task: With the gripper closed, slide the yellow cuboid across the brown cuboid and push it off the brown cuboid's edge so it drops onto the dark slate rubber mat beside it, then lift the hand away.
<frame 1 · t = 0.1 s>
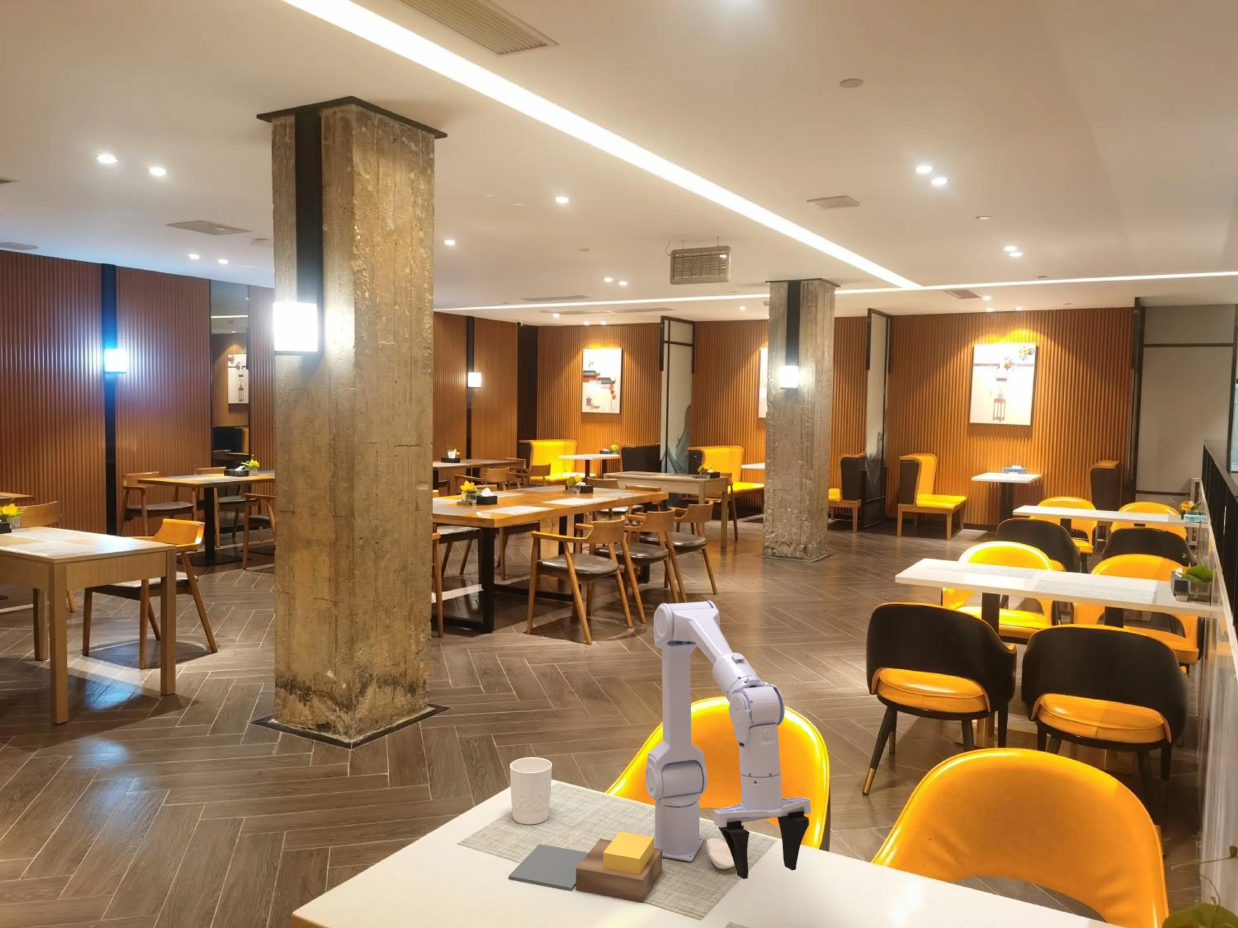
hand: (766, 872, 126), 11 cm above the table, tool pointing down, fingers open, 7 cm apart
yellow cuboid: (629, 852, 144), point 5 cm above the table, touching brown cuboid
brown cuboid: (620, 879, 145), on the table
white cup: (530, 818, 168), on the table
mat: (554, 867, 149), on the table
dumpling: (722, 867, 150), on the table
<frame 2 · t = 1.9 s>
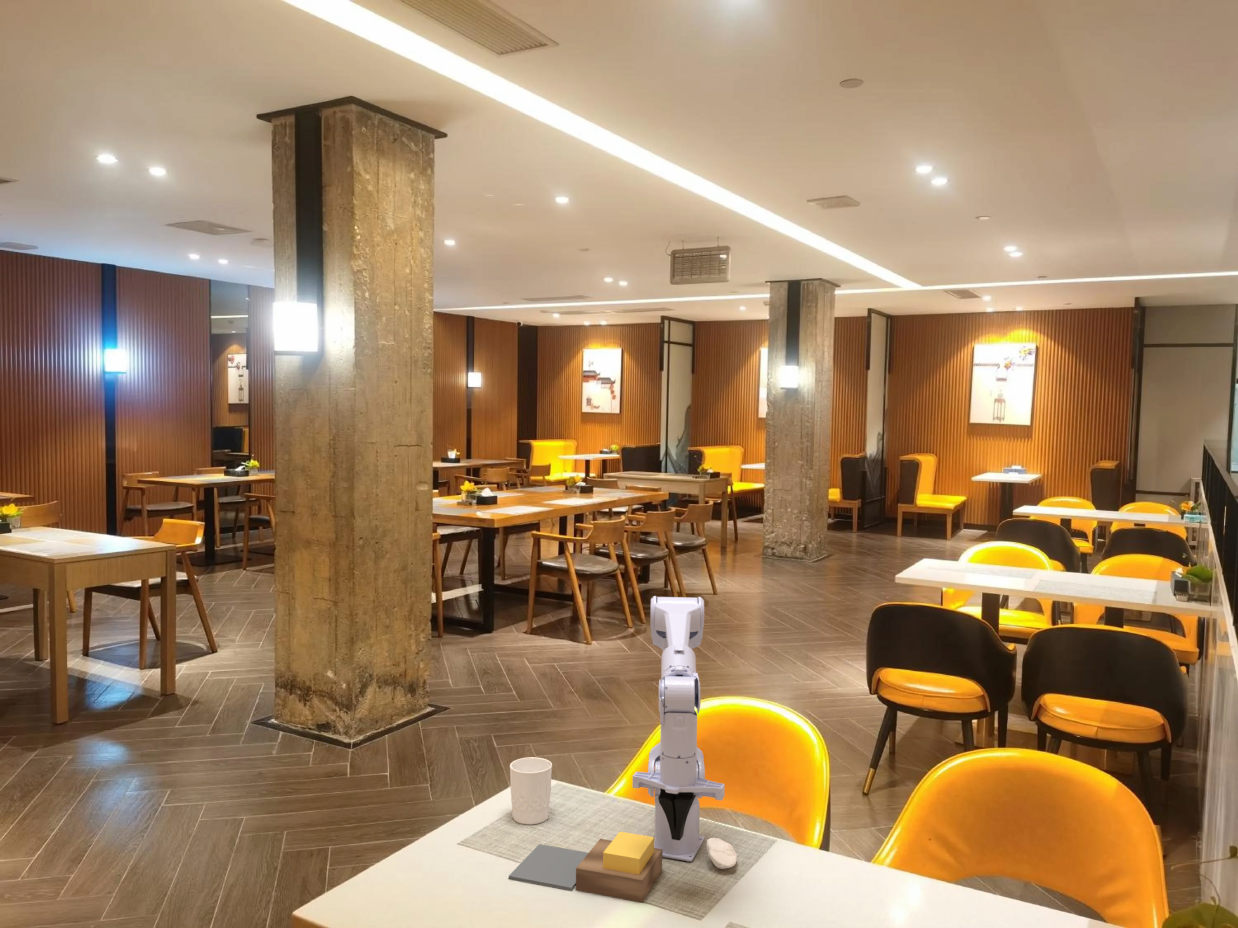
hand: (677, 837, 141), 9 cm above the table, tool pointing down, fingers closed
nothing on the table moved.
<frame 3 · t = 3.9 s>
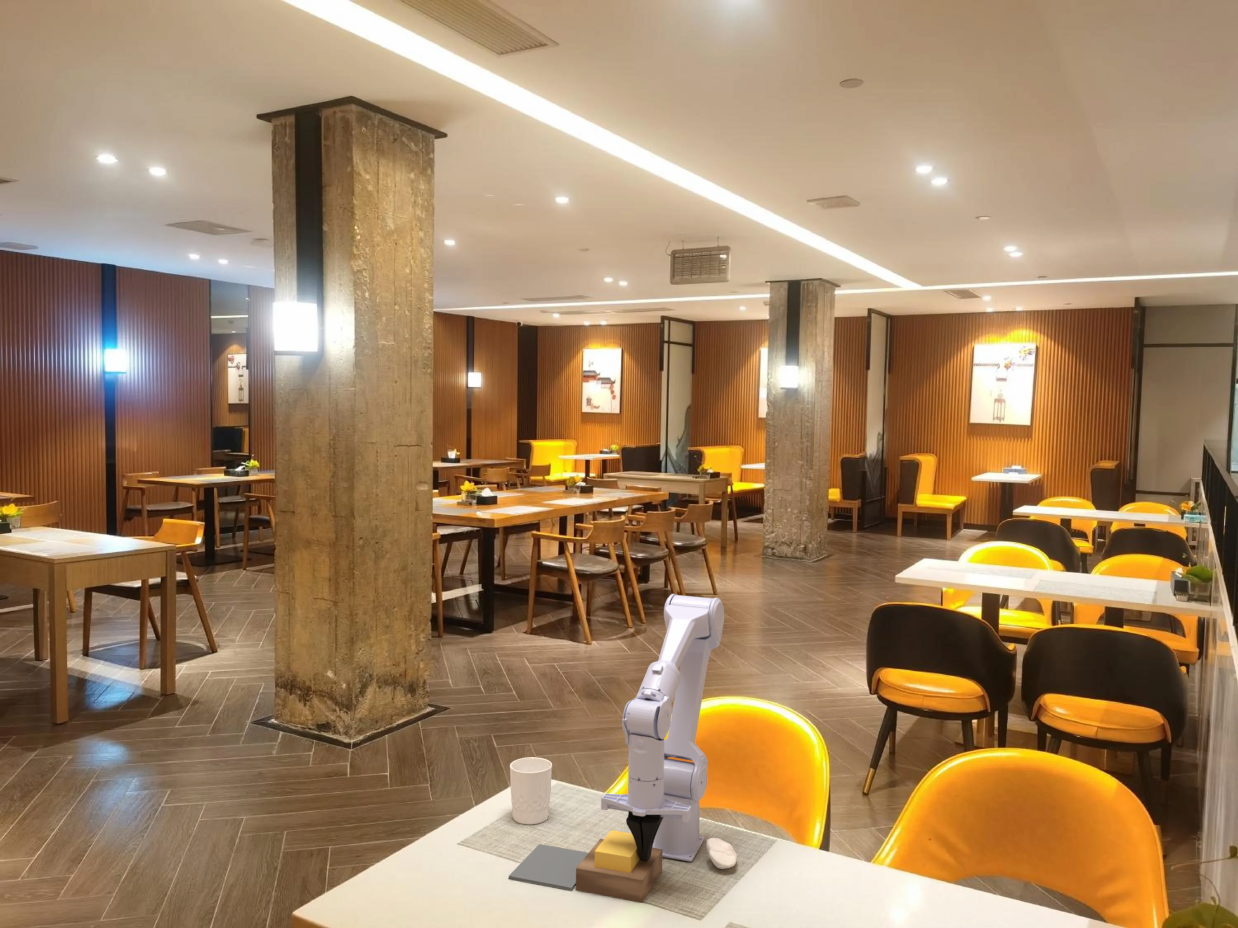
hand: (645, 858, 143), 4 cm above the table, tool pointing down, fingers closed
yellow cuboid: (620, 850, 145), point 5 cm above the table, touching gripper
everything else where it was.
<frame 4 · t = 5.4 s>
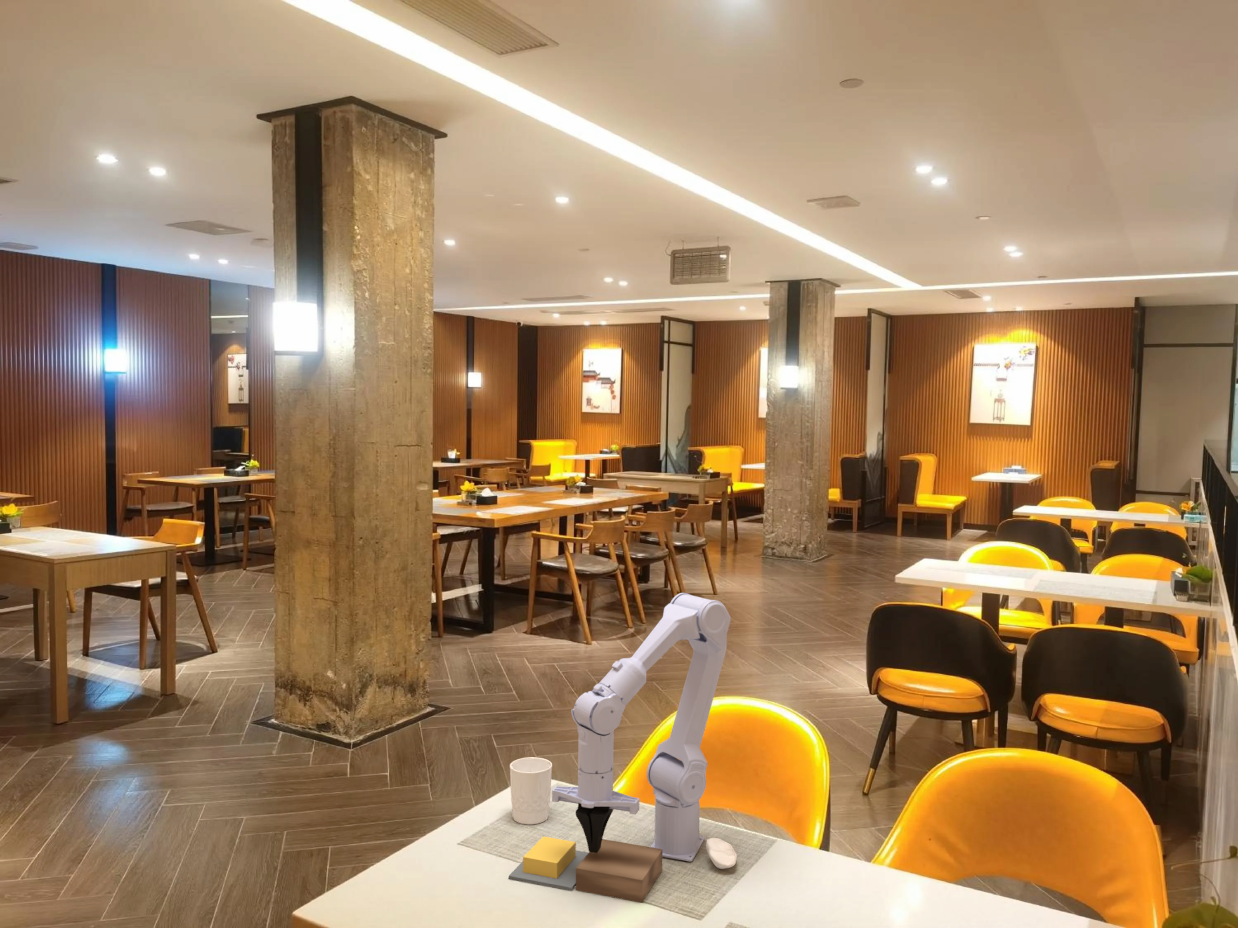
hand: (594, 849, 146), 4 cm above the table, tool pointing down, fingers closed
yellow cuboid: (549, 856, 149), point 2 cm above the table, tilted 180°, touching mat
everything else where it was.
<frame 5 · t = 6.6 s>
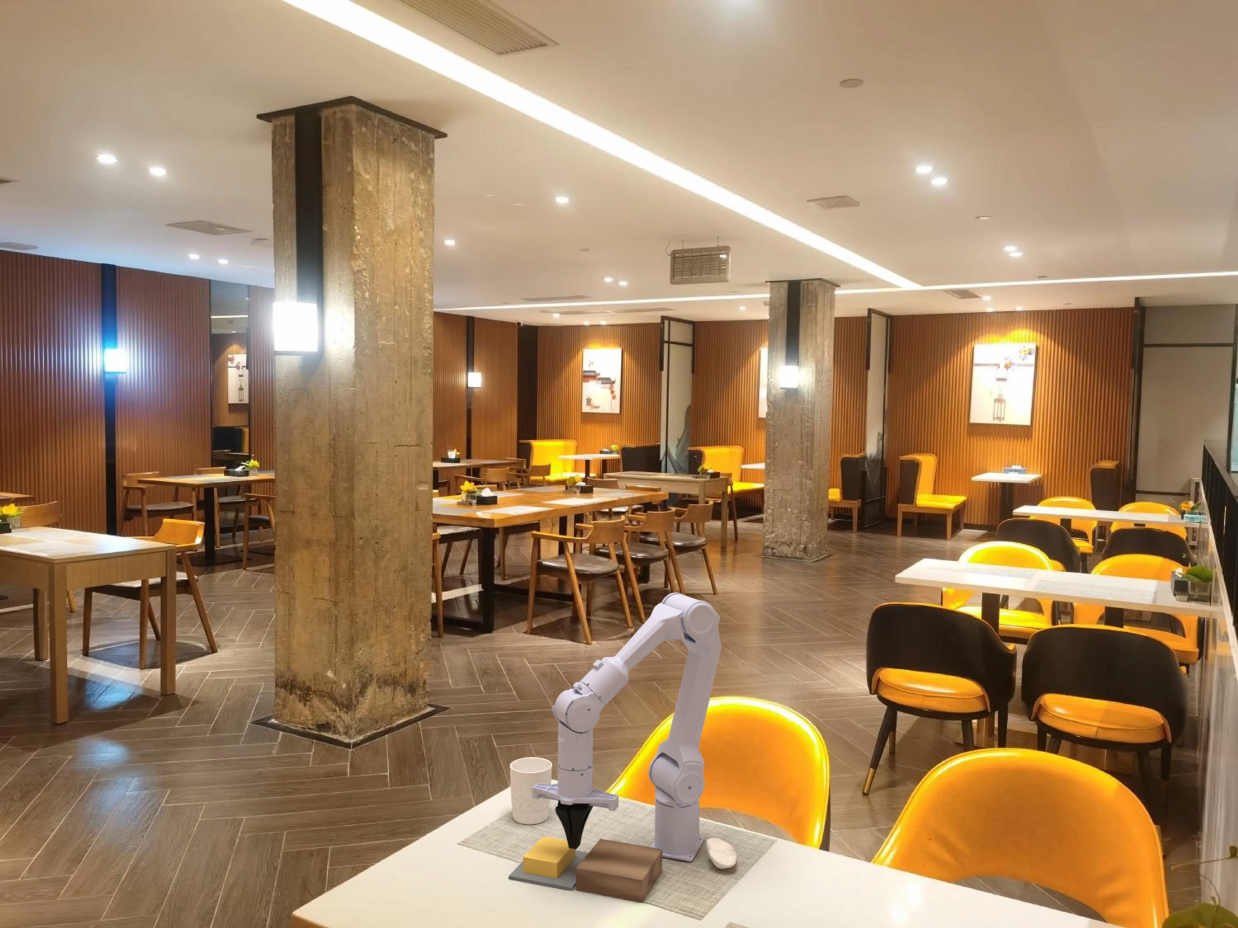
hand: (574, 845, 147), 4 cm above the table, tool pointing down, fingers closed
nothing on the table moved.
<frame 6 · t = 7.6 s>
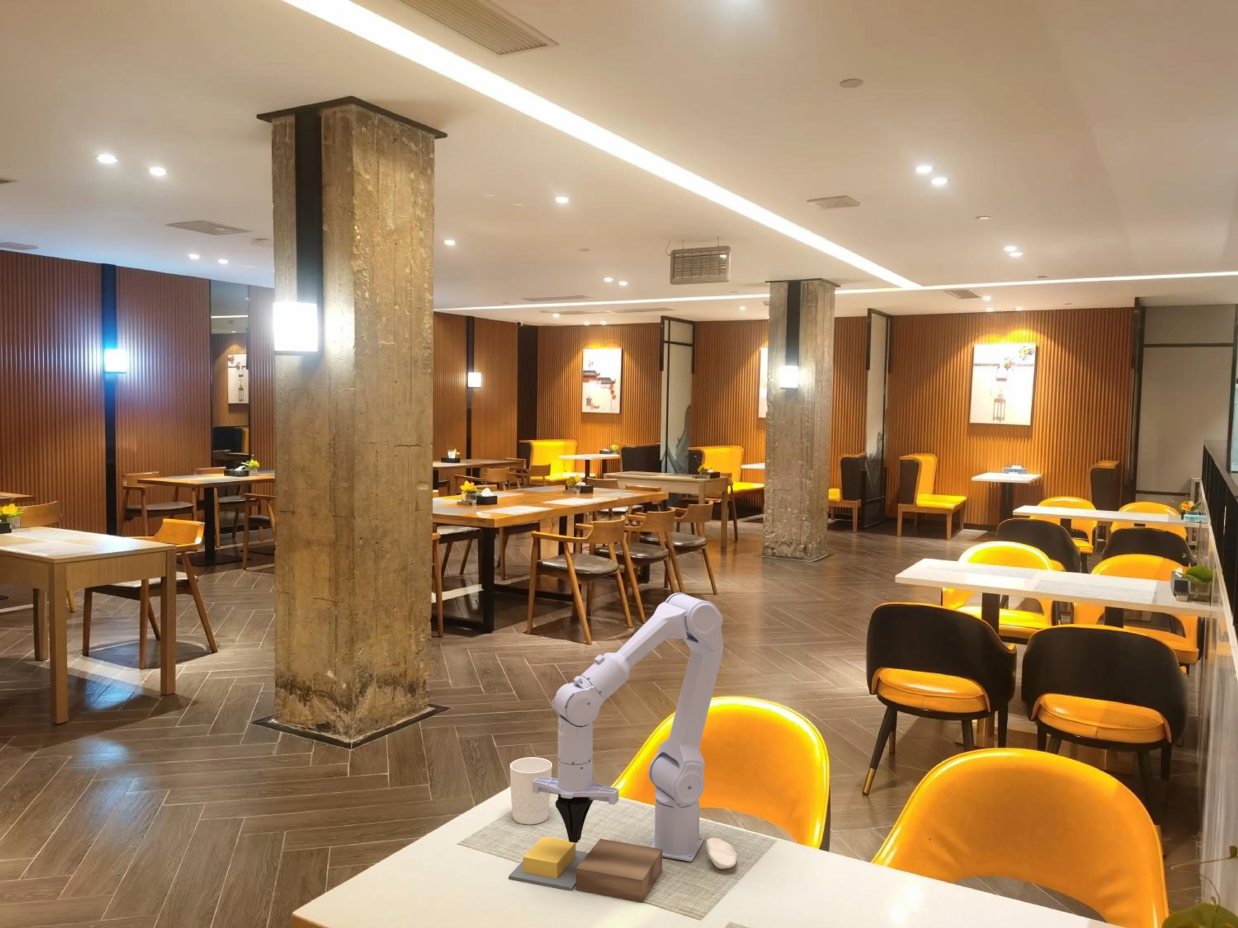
hand: (574, 839, 147), 5 cm above the table, tool pointing down, fingers closed
nothing on the table moved.
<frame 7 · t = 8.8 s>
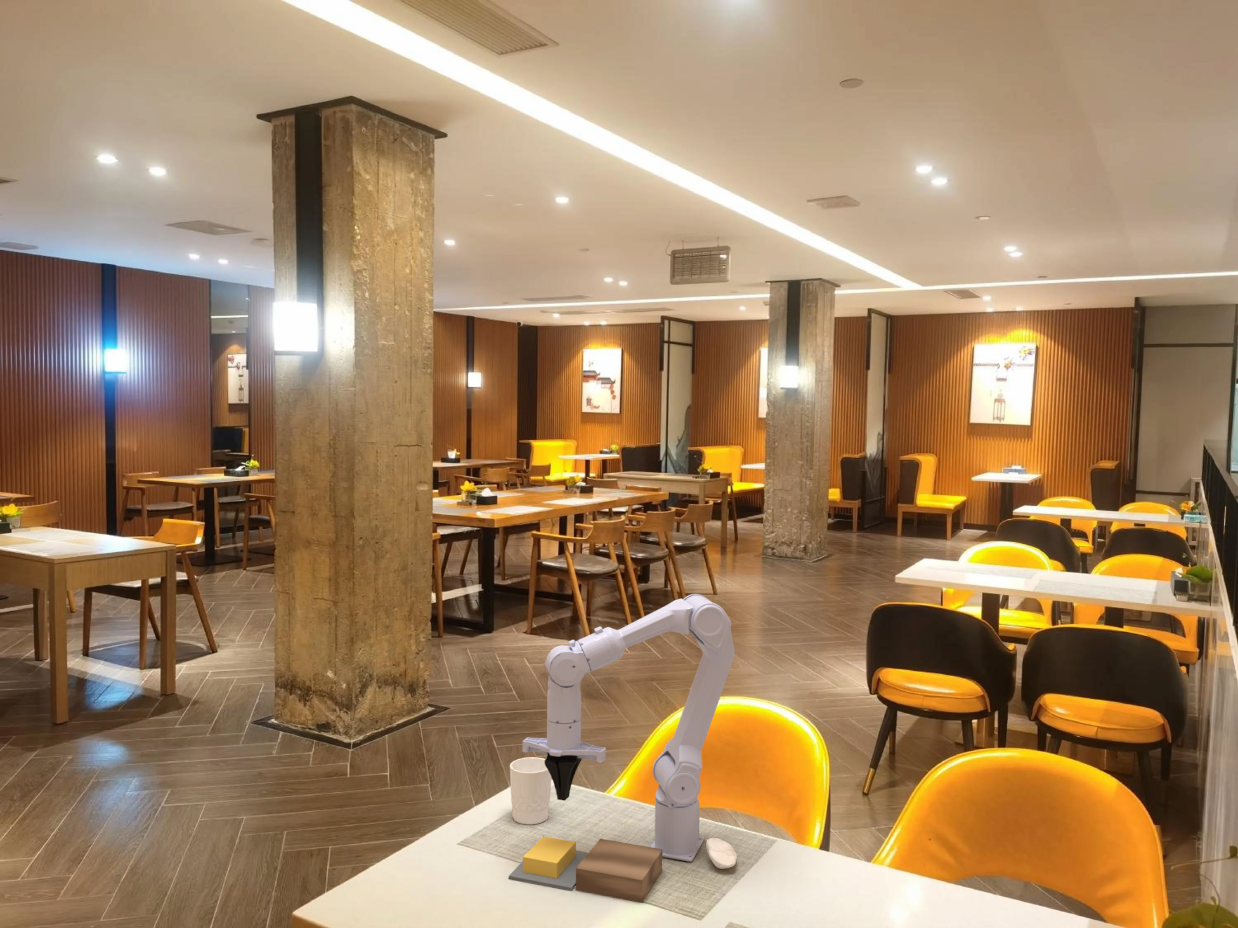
hand: (563, 797, 151), 10 cm above the table, tool pointing down, fingers closed
nothing on the table moved.
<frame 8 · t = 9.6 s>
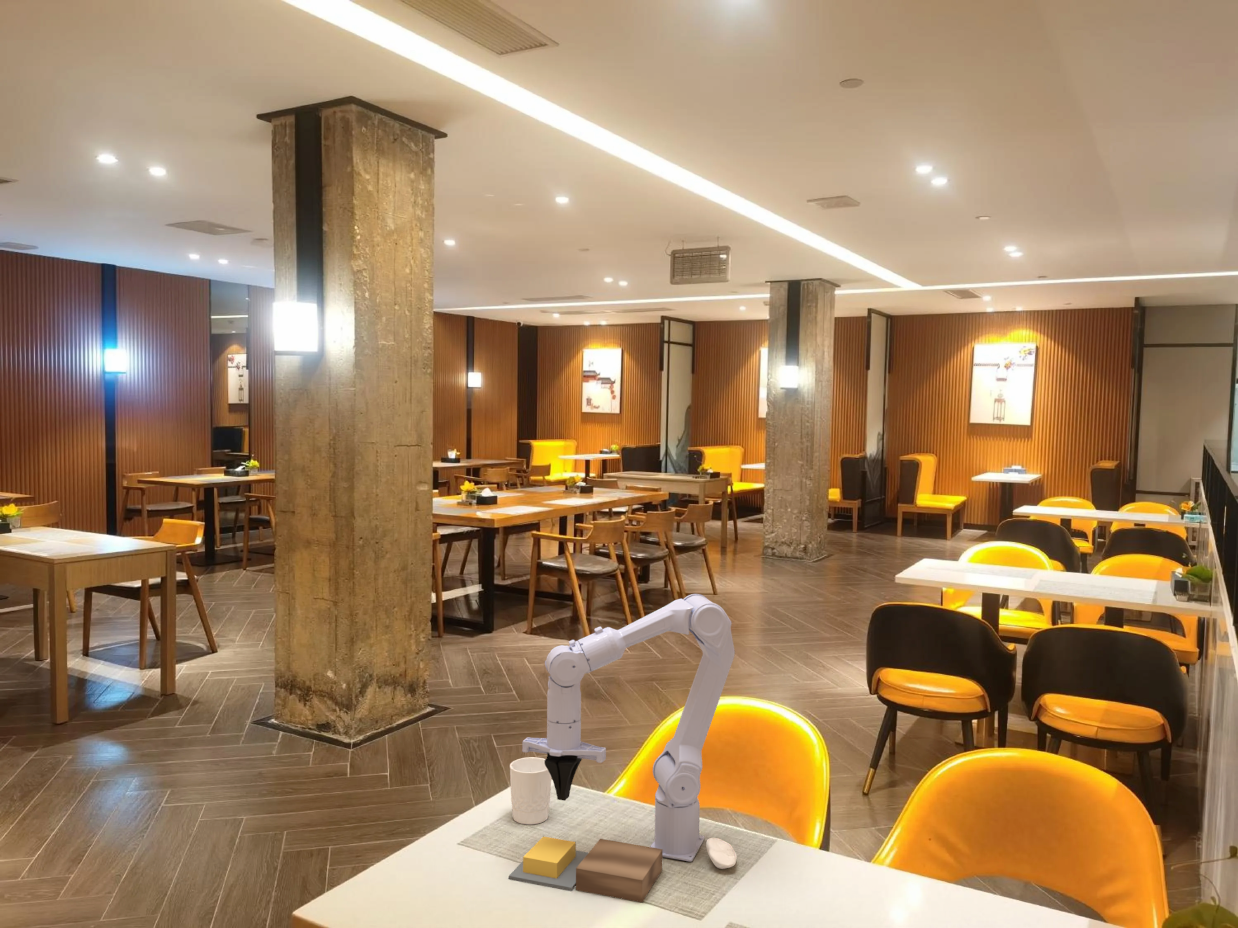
hand: (563, 797, 151), 10 cm above the table, tool pointing down, fingers closed
nothing on the table moved.
at the end: yellow cuboid inside the target area (0.8 cm from its centre), point 1.7 cm above the table; yellow cuboid touching mat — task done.
